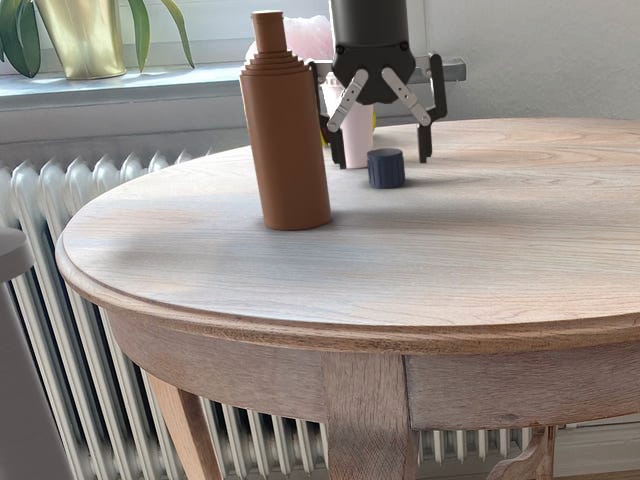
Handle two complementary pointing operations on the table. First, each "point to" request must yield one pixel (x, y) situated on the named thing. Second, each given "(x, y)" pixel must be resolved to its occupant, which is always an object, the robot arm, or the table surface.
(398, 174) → the cap
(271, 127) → the bottle
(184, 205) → the table surface
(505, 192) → the table surface
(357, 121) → the smoothie
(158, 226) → the table surface
